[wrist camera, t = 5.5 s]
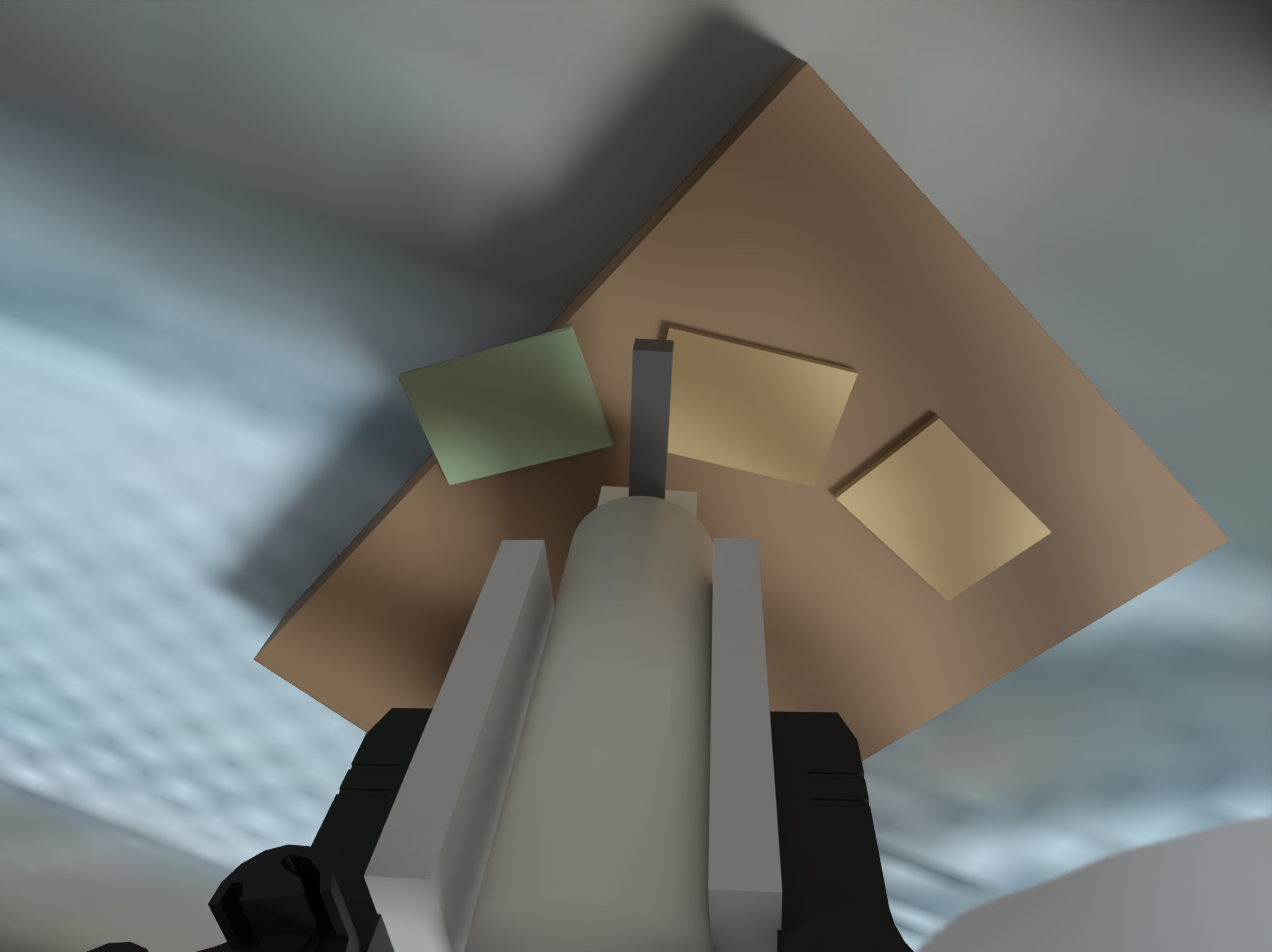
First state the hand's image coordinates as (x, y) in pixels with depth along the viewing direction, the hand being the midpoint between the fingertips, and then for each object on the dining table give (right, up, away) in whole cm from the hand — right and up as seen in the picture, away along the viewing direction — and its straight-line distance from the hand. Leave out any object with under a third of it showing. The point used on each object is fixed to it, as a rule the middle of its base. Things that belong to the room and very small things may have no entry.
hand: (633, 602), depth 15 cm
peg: (0, -1, +5) cm, 5 cm away
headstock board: (+2, 0, +7) cm, 8 cm away
